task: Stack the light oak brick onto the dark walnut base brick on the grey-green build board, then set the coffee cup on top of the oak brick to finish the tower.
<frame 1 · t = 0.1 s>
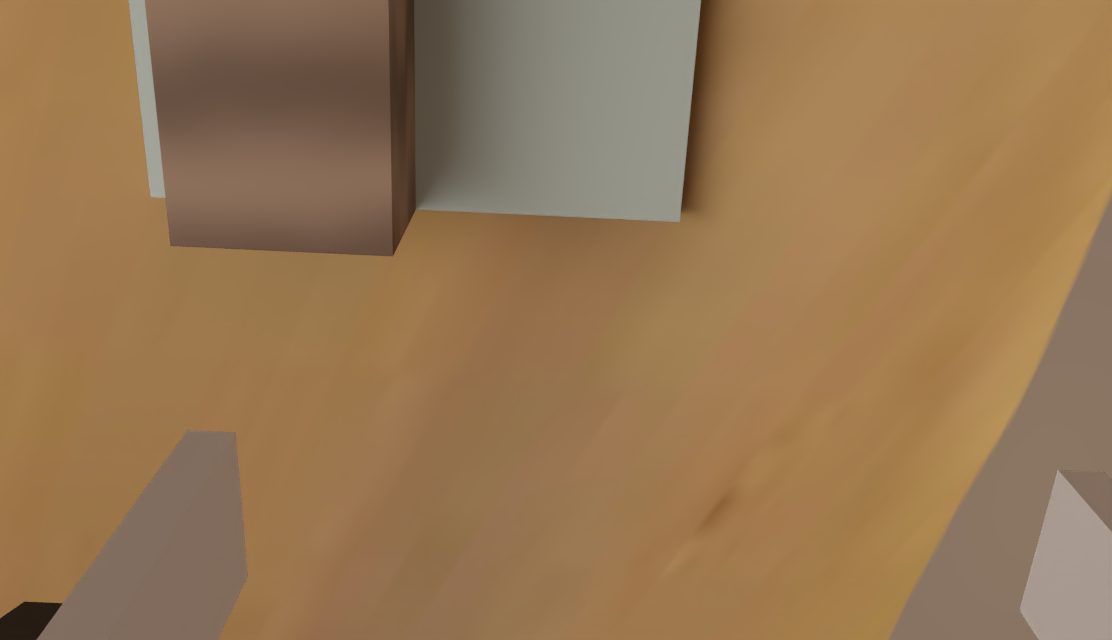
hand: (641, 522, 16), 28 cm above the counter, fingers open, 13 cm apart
walnut base brick: (312, 57, 40), point 1 cm above the counter, touching build board
build board: (418, 45, 41), on the counter
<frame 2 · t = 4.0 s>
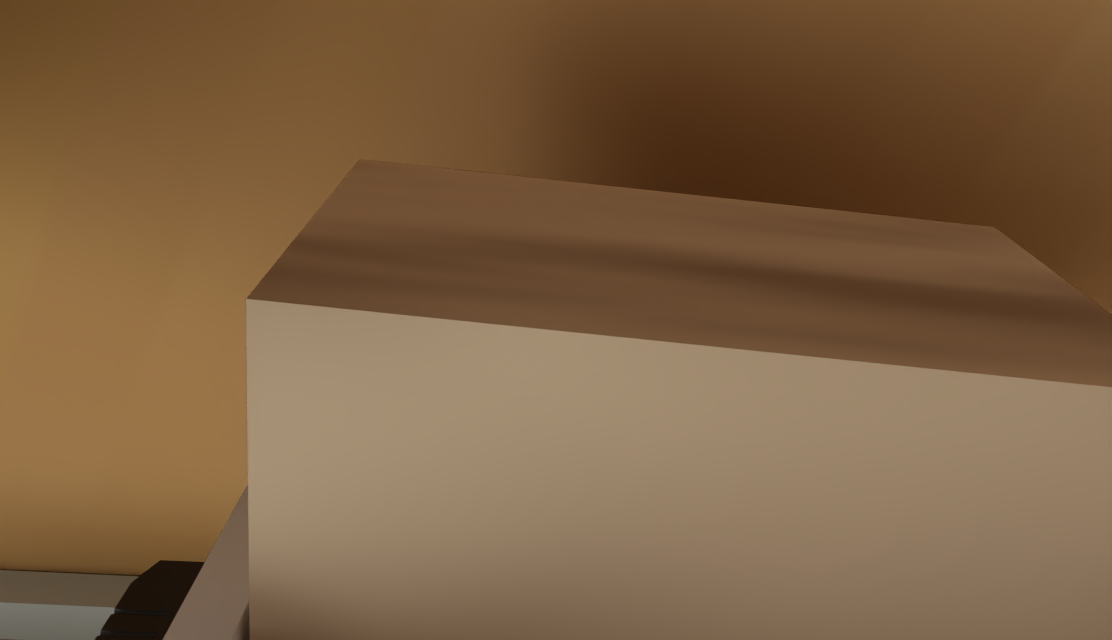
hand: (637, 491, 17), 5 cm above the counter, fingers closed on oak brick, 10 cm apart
oak brick: (636, 470, 18), point 4 cm above the counter, touching gripper
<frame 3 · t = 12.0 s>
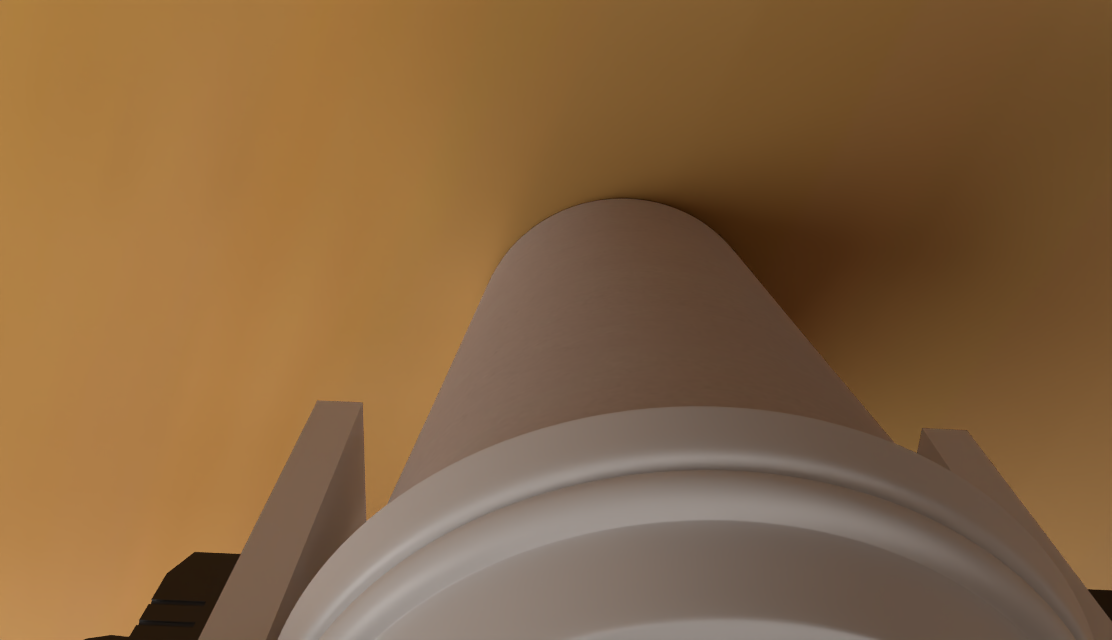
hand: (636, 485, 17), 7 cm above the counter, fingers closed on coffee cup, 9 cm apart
coffee cup: (618, 329, 24), on the counter, touching gripper
when the fingers open (21 cm above the counter, at t = 18.0 s): coffee cup drops 1 cm, resting on oak brick.
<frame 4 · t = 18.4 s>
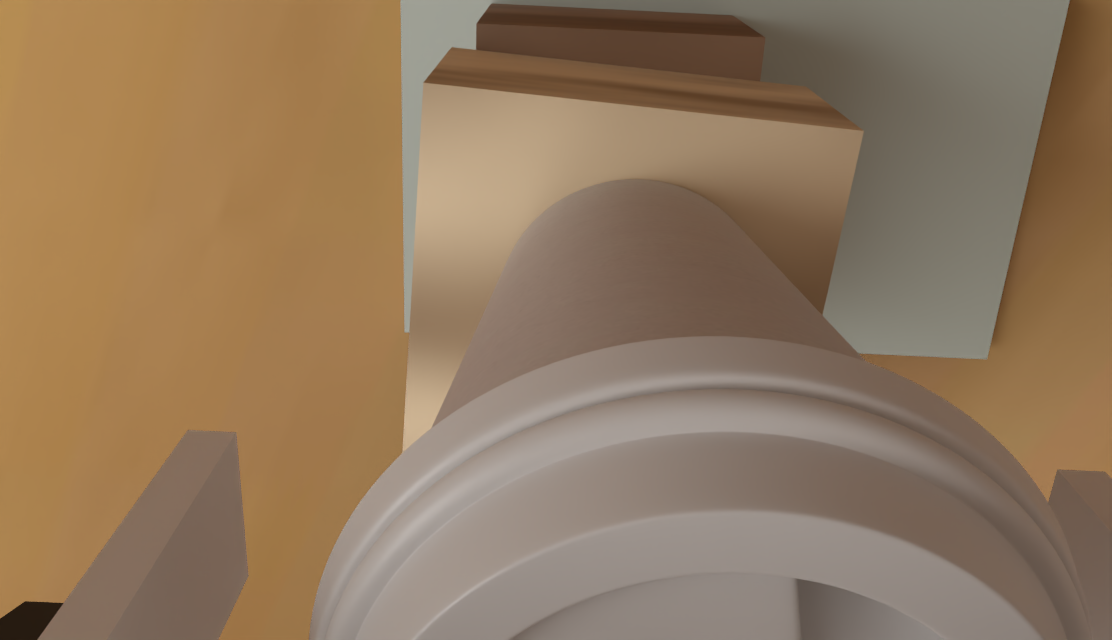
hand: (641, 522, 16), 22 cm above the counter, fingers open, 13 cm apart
oak brick: (607, 236, 30), point 7 cm above the counter, touching coffee cup, walnut base brick
walnut base brick: (600, 185, 36), point 1 cm above the counter, touching build board, oak brick
build board: (710, 169, 37), on the counter
coffee cup: (630, 305, 25), point 13 cm above the counter, touching oak brick
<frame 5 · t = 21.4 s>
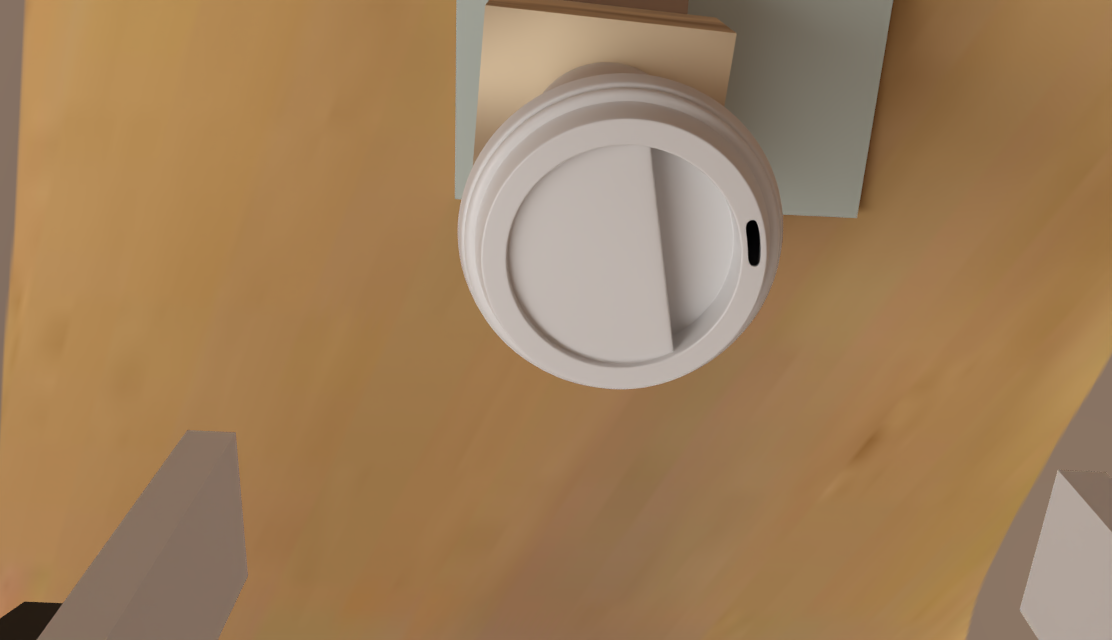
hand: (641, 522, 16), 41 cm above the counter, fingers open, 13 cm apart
oak brick: (592, 115, 47), point 7 cm above the counter, touching coffee cup, walnut base brick
walnut base brick: (589, 94, 53), point 1 cm above the counter, touching build board, oak brick
build board: (664, 84, 54), on the counter
coffee cup: (604, 141, 42), point 13 cm above the counter, touching oak brick
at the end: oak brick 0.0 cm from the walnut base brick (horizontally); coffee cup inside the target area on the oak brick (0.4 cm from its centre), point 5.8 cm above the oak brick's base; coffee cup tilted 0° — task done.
